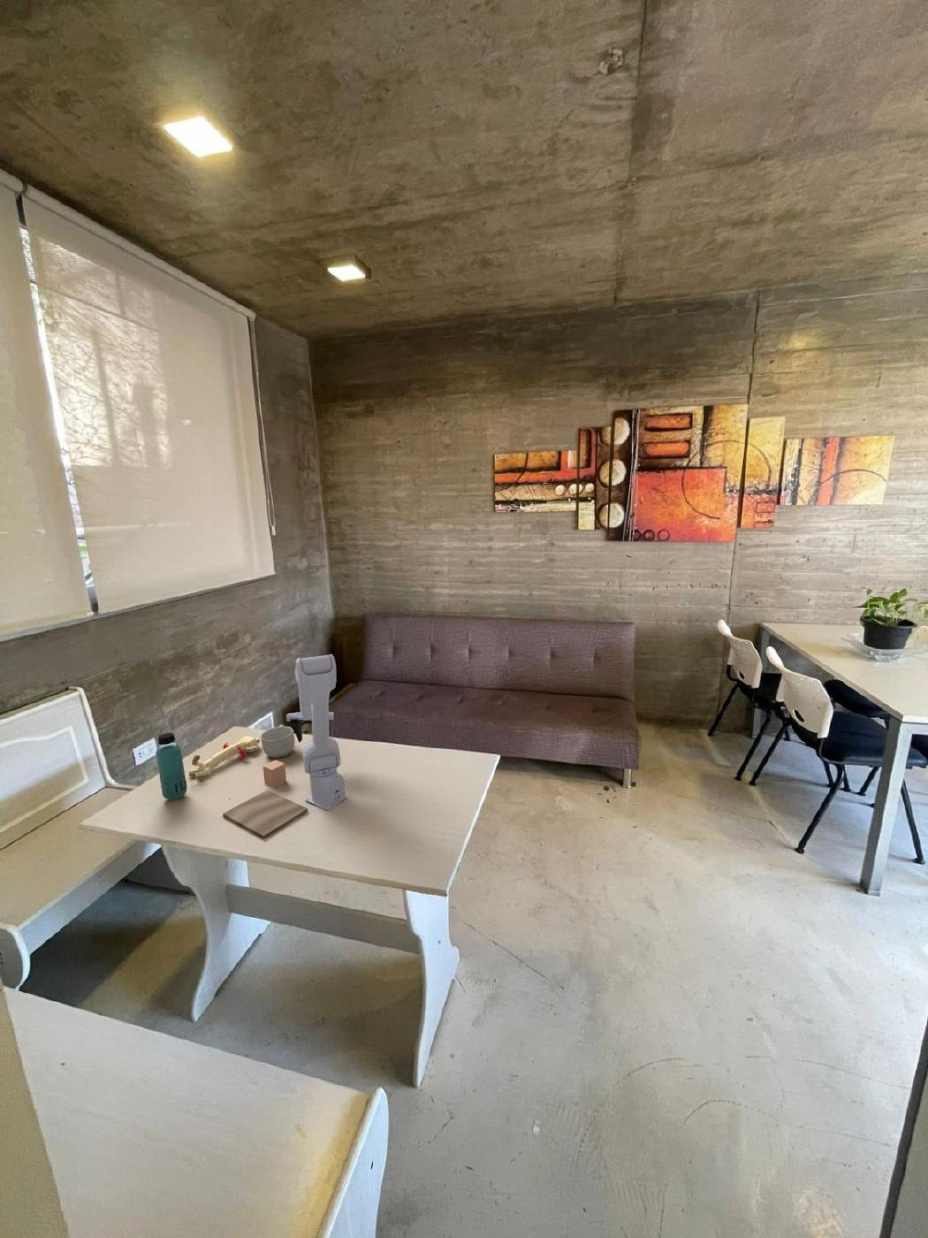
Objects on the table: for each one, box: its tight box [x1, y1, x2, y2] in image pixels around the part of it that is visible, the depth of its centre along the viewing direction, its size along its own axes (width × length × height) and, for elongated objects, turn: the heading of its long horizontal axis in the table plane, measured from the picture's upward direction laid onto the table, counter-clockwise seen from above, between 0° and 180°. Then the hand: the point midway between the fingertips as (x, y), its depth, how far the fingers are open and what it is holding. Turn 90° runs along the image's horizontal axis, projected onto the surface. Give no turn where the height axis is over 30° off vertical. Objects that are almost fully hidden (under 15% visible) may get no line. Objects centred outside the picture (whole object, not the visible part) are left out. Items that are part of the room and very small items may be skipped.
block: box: [262, 759, 287, 789], centre depth 151 cm, size 4×4×6 cm
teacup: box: [259, 724, 296, 759], centre depth 171 cm, size 14×11×8 cm
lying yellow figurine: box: [188, 735, 261, 782], centre depth 164 cm, size 10×9×25 cm
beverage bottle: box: [155, 732, 188, 800], centre depth 142 cm, size 6×7×20 cm
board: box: [222, 789, 309, 840], centre depth 135 cm, size 18×14×1 cm
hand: (312, 740), depth 159 cm, fingers open, 7 cm apart
